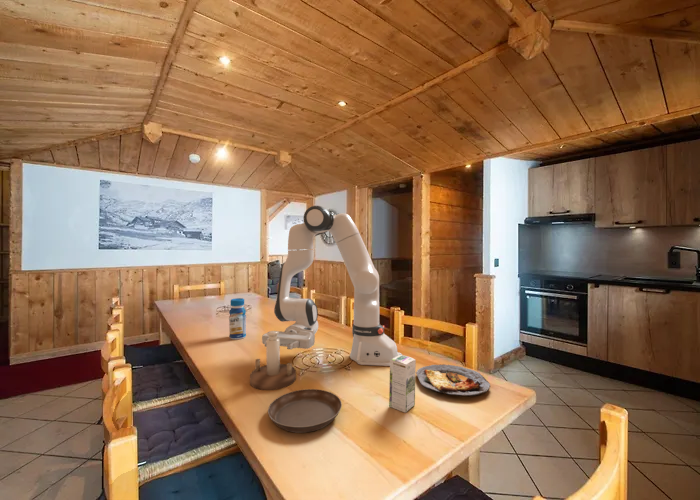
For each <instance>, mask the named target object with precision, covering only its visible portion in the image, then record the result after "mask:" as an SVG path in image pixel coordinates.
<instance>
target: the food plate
mask: <svg viewBox="0 0 700 500" xmlns="http://www.w3.org/2000/svg"><path fill="white" fill-rule="evenodd" d="M443 374H445V375H446V376H447V378H448V379H449V380H448V379H447V378H446V377H445V376H444V375H443ZM415 375H416V376H417V378H418V381H419V383H420V385H422V387H424V388H425V389H427V390H431V391H433V392H436V393H439V394H443V395H447V396H464V397H465V396H466V397H473V396H478V395H481V394H485V393H487V392H489V391H490V388H491V383H490V382H489V381H488V380H487V379H486V378H485V377H484V376H483V374H481V373H480V372H478V371H476V370H475V369H474V370H473V369H471V368H466V367H463V366H458V365H453V364H452V365H451V364H444V363H443V364H430V365H427V366H422V367H420V368H418V369H417V371H415ZM459 376H462V377H465V378H466V379H465V380H462V379H461V378H460V377H459Z"/></svg>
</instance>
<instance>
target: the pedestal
mask: <svg viewBox="0 0 700 500" xmlns="http://www.w3.org/2000/svg"><path fill="white" fill-rule="evenodd" d="M254 367H255V369H254V370H252V372H250V375H249V385H250V386H251V387H252V388H254V389H255V390H261V391H274V390H279V389H280V390H281V389H285V388H286V387H289V386H291V385H292V384H294V383H295V381H296V379H297V370H296V368H295V367H294V366H292V363H291V362H288V363H286V364H282V363H280V373H279V374H277V375H267V364H266V365H263V366H261V359H260V358H256V359H255V366H254Z"/></svg>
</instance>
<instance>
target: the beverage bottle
mask: <svg viewBox="0 0 700 500" xmlns="http://www.w3.org/2000/svg"><path fill="white" fill-rule="evenodd" d="M244 306H245V298H243V297H242V298H241V297H237V298H231V299H230V309H229V311H228V313H229V316H228V320H229V321H228V322H229V323H228V326H229V335H228V336H229V337H228V338H229V339H230V340H234V341H235V340H242V339H245V338H246V336H247V315H246V313H247V311H246V308H245V307H244Z"/></svg>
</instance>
